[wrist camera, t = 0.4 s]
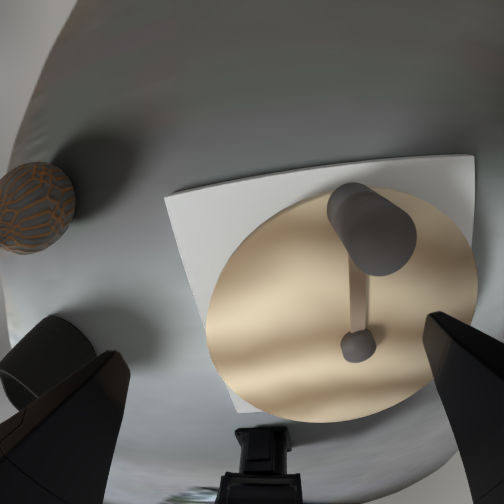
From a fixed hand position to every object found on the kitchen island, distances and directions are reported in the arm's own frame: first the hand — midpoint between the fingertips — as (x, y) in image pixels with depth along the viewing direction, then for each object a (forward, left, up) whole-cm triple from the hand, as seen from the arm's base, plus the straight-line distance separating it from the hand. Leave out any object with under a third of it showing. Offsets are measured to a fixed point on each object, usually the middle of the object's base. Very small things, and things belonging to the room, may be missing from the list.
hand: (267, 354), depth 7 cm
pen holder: (-11, +25, -14) cm, 31 cm away
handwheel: (-9, -5, -12) cm, 16 cm away
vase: (+5, +17, -14) cm, 23 cm away
